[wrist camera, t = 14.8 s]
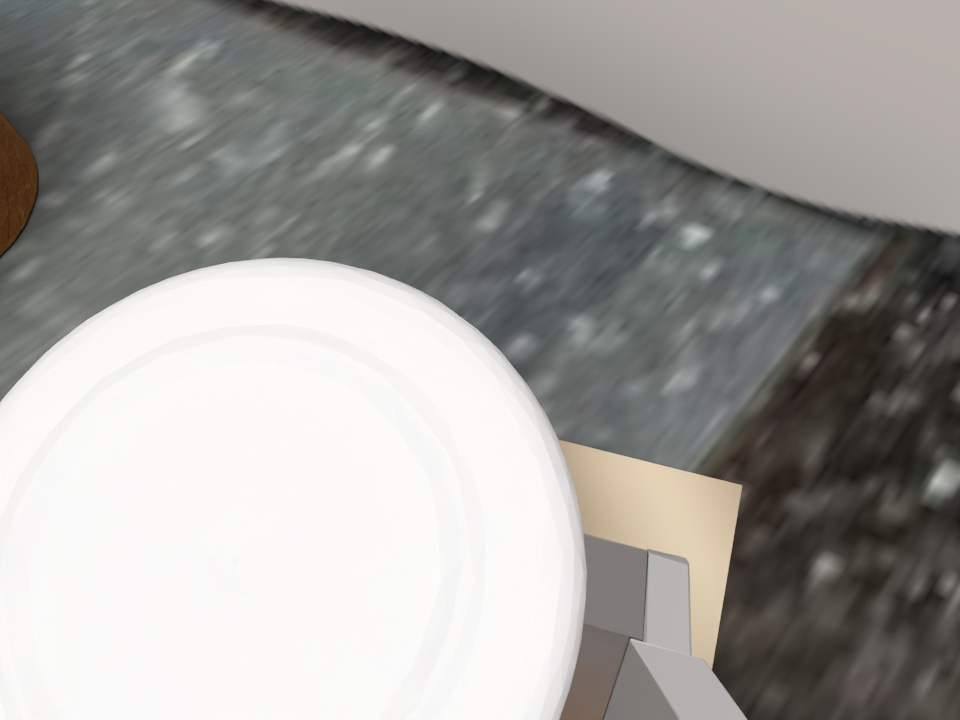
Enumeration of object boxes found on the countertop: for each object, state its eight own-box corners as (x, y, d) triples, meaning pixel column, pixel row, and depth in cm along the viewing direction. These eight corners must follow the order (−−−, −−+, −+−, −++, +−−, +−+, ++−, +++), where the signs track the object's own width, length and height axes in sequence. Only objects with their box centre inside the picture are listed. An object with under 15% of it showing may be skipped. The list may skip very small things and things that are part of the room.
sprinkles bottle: (340, 517, 18) (-95, 294, 6) (526, 484, 18) (521, 184, 5) (362, 723, 17) (-166, 1069, 4) (564, 687, 17) (679, 921, 4)
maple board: (102, 914, 17) (62, 942, 16) (292, 385, 21) (274, 368, 20) (621, 1108, 16) (631, 1160, 14) (726, 494, 19) (742, 485, 18)
